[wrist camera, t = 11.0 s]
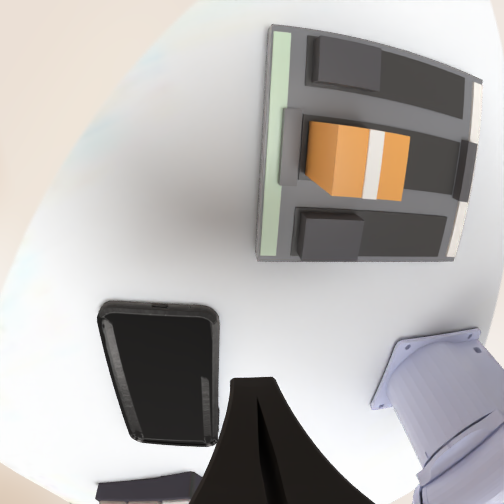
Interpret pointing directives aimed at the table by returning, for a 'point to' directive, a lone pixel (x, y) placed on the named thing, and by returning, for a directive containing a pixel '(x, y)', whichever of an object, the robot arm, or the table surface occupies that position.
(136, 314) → the phone
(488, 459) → the robot arm
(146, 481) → the red and black box
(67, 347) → the table surface
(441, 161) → the panel
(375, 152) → the handle
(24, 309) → the table surface
